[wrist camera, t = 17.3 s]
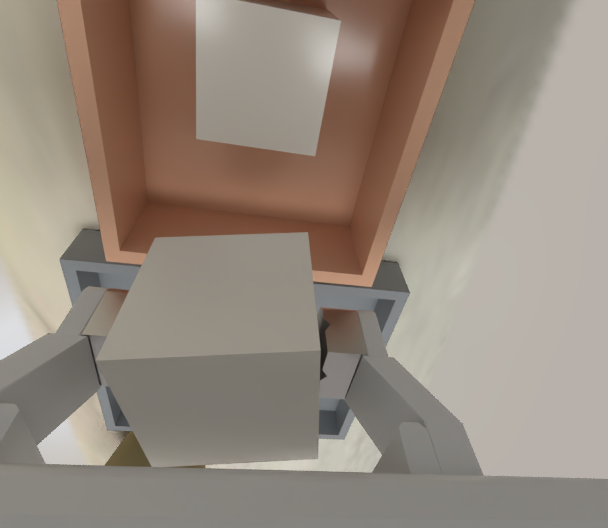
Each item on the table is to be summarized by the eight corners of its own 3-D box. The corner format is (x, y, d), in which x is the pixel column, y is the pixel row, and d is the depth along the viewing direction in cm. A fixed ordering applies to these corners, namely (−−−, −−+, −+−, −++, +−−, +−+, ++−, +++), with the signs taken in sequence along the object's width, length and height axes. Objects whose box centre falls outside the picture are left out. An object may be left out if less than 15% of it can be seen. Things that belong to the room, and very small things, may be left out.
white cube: (216, -13, 13) (195, -9, 10) (327, 9, 14) (341, 20, 11) (213, 105, 16) (196, 138, 12) (308, 120, 16) (315, 156, 13)
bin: (106, -97, 12) (32, -127, 9) (431, -26, 14) (484, -26, 10) (139, 205, 19) (106, 261, 15) (355, 231, 20) (371, 286, 17)
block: (155, 237, 10) (95, 360, 7) (308, 232, 10) (320, 349, 7) (185, 340, 12) (152, 467, 9) (308, 335, 12) (317, 458, 9)
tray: (82, 229, 20) (59, 259, 18) (397, 262, 22) (410, 293, 20) (119, 397, 29) (107, 430, 27) (340, 408, 31) (344, 439, 29)
